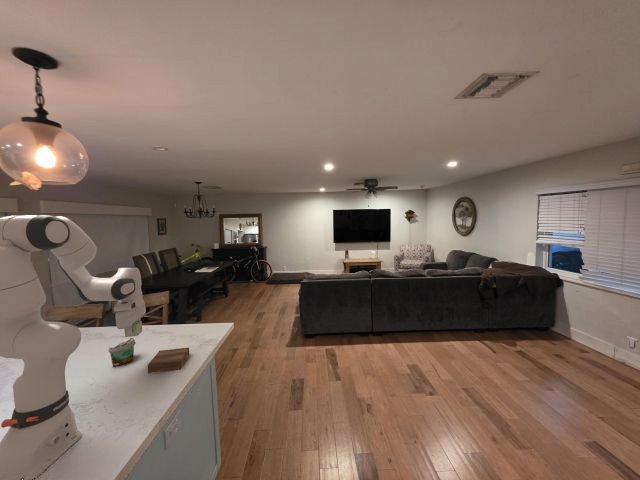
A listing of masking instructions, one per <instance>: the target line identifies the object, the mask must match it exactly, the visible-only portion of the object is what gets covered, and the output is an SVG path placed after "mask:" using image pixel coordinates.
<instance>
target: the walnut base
mask: <svg viewBox="0 0 640 480" xmlns="http://www.w3.org/2000/svg"><path fill="white" fill-rule="evenodd" d="M189 356H190V347H180V348H173V349H162V350H158V352H157V353H156V354H155V356H154V357H153V358H152V359H151V360H150V362H149V363H147V373H148V374H154V373H163V372H170V371H178V370H182V369H183V367H184V365H185V364H186V361H187V360H188V358H189Z"/></svg>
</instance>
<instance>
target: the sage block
mask: <svg viewBox="0 0 640 480" xmlns="http://www.w3.org/2000/svg"><path fill="white" fill-rule="evenodd" d="M132 329H133V333H132V334H127V330H126V329H124V337H125V338H132V337H138V336H139V335H140V334H141V333H142V332H143V322H142V320H140V321H138V322H134V323H133V324H132Z"/></svg>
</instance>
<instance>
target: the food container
mask: <svg viewBox="0 0 640 480" xmlns="http://www.w3.org/2000/svg"><path fill="white" fill-rule="evenodd" d="M129 338H130V339H128V340H126V341H123V342H120V343H119V344H118V345H116V346H114V347H109V349H108V353H109V354H110V359H111V364H112V367H113V368H115V367H122V366H125V365H129V364H130V363H132V362H133V361H134V355H135V352H134V351H135V345H136V339H134V338H133V337H129Z"/></svg>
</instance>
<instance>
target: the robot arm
mask: <svg viewBox="0 0 640 480" xmlns="http://www.w3.org/2000/svg"><path fill="white" fill-rule="evenodd" d="M39 251H50V252H51V253H52V254H53V256H54V257H56V258H57V259H58V260H57V264H58V266H59V268H60V269H61V270H62V272H63V273H64V275H65V276H66V277H67V278H68V279H69V281H70V282H71V283H72V284H73V285H74V287H75V289H76V290H77V293H78V295H79V297H80V298H81V299H82V301H84V302H86V303H87V302H88V303H93V302H110V301H111V302H115V301H116V302H117V303H116V304H115V305H114V307H113V312H114V313H115V323H116V324H115V325H116V328H117V329H118V330H125V329H126V330H127V334H132V333H133V329H132V324H133V323H134V322H138V321H142V320H141V318H142V317H143V316H144V315H145V314H146V312H147V308H146V302H145V300H144V298H143V291H142V276H141V271H140V269H139V268H138V267H137V266H123V267H122V266H121V267H119V268H118V269H117V272H116V273H115V274H114V275H113V276H111V277H96V276H93V275H91V274H90V272H89V271H88V269H87V268H86V267H85V266H86V265H88V264H90V263H91V262H92V261H93V260H94V258H95V257H96V255H97V252H98V248H97V245H96V244H95V242H94V241H93V240H92V239H91V237H90V236H89V235H88V234H87V233H86V232H85V231H84V230H83V229H82V228H81V227H80V226H79V225H77V224H76V223H75V222H74V221H72V220H71V219H70V218H68V217H65V216H61V215H59V216H58V215H57V216H54V215H48V214H39V215H34V214H33V215H32V214H31V215H28V214H26V215H25V214H16V215H7V216H0V357H1V358H4V359H5V358H6V359H14V360H22V361H23V363H24V365H23V371H22V374H21V375H20V376H19V377H17V378H16V379H15V381H14V382H13V385H12V392H13V393H12V394H13V400H14V408H13V411H12V414H11V418H6V419H4V420H2V421H1V423H0V427H1V428H2V429H3V428H4V429H5V428H7V427H8V428H9V429H8V430H7V431H6V434H4V436H3V438H2V439H1V441H0V480H22V479H23V480H31V479H33V480H35V479H36V478H38V477H39V476H40V475H41V474H43V472H44V471H46V470H47V469H48V468H49V467H50V466H52V464H53V463H54V462H55V461H57V460H58V459H59V458H60V457H61V456H62V455H63V454H65V452H66V451H68V450H69V449H70V448H71V447H72V446H73V445H74V444H75V443H76V442H77V441H78V440H80V439H81V438H82V437H83V435H82V432H81V431H80V430H78V425H77V422H76V418H75V413H74V412H73V410H72V409H71V408H70V405H69V403H70V394H69V391H68V390H67V386H66V385H67V383H66V366H67V362H68V359H69V358H70V356H71V354H73V353H74V352H75V351H76V350H77V349H78V347H79V345H80V344H81V341H82V332H81V330H80V328H78V327H77V326H76V325H73V324H70V323H66V322H62V321H45V320H44V319H43V317H42V316H41V314H42V313H41V310H42V309H41V308H42V306H44V305H45V303H46V301H47V295H46V293H45V291H44V288H43V286H42V283H41V281H40V278H39V276H38V274H37V272H36V270H35V268H34V265H33V264H32V261H31V258H32V257H31V256H32V252H39ZM34 478H35V479H34Z"/></svg>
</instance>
